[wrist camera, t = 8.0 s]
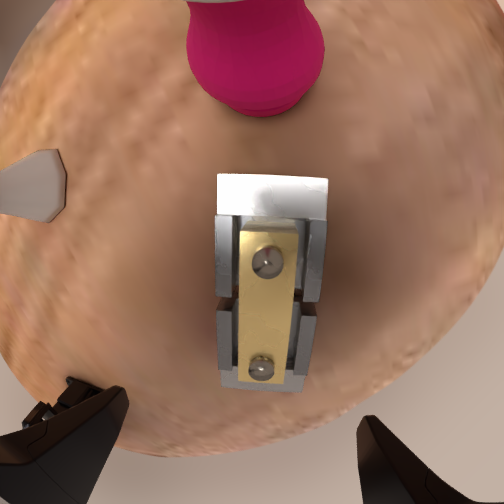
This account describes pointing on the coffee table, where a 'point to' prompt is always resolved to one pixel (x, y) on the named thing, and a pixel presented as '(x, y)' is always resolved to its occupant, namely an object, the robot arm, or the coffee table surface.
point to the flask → (33, 186)
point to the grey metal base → (307, 268)
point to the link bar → (265, 299)
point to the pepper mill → (254, 52)
